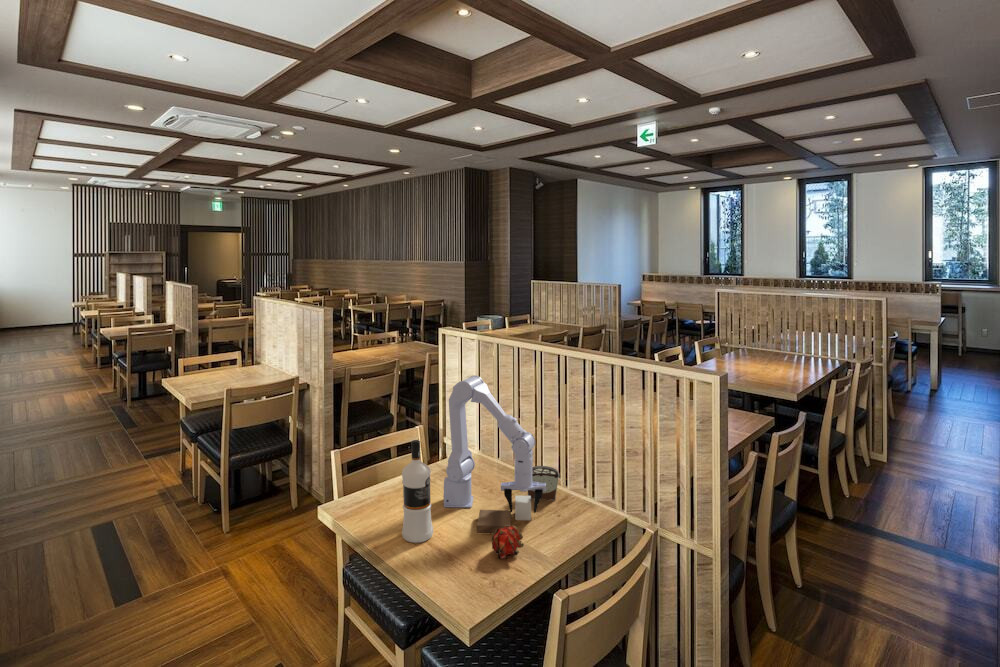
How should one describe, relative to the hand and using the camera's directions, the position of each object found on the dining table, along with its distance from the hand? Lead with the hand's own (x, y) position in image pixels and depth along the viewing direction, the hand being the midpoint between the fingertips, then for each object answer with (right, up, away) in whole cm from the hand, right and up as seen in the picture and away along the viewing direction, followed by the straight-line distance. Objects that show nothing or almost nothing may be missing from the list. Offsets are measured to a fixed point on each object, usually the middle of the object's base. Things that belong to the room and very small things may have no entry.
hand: (523, 511), depth 174 cm
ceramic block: (0, -2, 0) cm, 2 cm away
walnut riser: (-9, -3, -6) cm, 11 cm away
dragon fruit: (-5, -5, -21) cm, 23 cm away
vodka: (-32, -4, -12) cm, 35 cm away
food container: (+7, 0, +15) cm, 17 cm away
